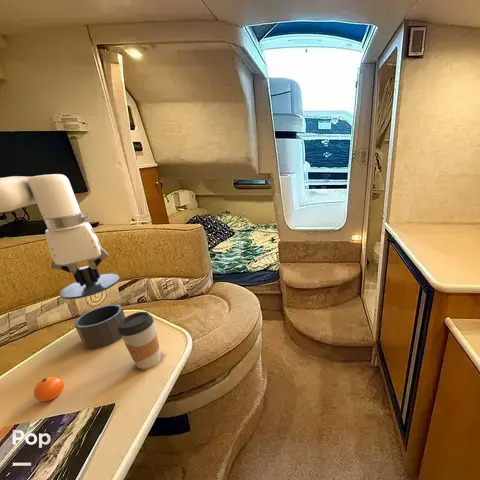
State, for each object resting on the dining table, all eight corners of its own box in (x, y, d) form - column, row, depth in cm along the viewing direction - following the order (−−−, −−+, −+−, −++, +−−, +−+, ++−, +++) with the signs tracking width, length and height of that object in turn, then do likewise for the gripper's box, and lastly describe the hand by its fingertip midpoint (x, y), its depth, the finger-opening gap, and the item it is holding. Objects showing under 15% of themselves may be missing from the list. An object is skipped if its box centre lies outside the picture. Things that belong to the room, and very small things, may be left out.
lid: (61, 307, 69) (51, 284, 67) (60, 289, 79) (51, 269, 77) (124, 286, 78) (117, 265, 76) (116, 272, 88) (109, 254, 85)
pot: (85, 355, 84) (75, 332, 81) (82, 336, 93) (73, 316, 90) (132, 334, 92) (124, 314, 89) (125, 319, 101) (118, 300, 98)
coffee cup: (126, 368, 78) (108, 326, 72) (151, 348, 85) (137, 308, 80) (146, 375, 75) (130, 331, 70) (171, 354, 82) (158, 313, 77)
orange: (32, 409, 67) (22, 391, 65) (48, 390, 72) (39, 373, 70) (59, 403, 68) (49, 385, 66) (72, 385, 73) (64, 368, 71)
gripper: (103, 213, 79) (123, 269, 85) (28, 225, 70) (56, 286, 77) (101, 218, 73) (122, 278, 79) (18, 231, 65) (49, 297, 71)
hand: (89, 281), depth 78 cm, fingers closed on lid, 2 cm apart
